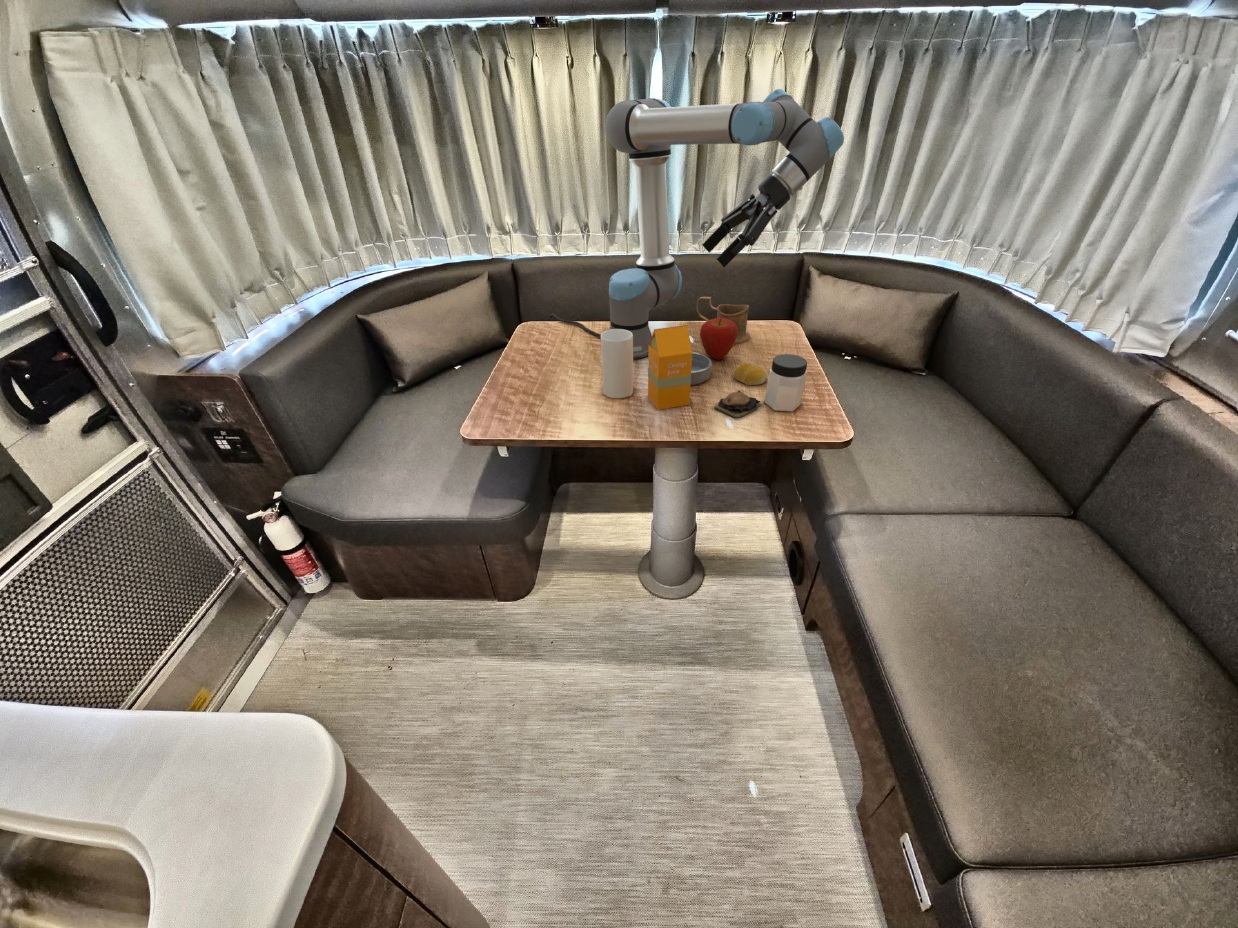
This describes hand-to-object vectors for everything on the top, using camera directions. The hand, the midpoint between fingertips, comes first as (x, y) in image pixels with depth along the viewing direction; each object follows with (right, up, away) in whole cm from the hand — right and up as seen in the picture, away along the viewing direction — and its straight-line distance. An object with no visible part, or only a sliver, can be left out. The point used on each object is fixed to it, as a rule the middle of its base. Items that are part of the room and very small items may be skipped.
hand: (712, 256), depth 131 cm
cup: (-23, -32, +13) cm, 42 cm away
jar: (+19, -36, +6) cm, 41 cm away
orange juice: (-10, -35, +9) cm, 37 cm away
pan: (-4, -26, +21) cm, 33 cm away
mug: (+10, -9, +43) cm, 46 cm away
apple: (+6, -19, +30) cm, 36 cm away
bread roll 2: (+7, -37, +5) cm, 38 cm away
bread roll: (+13, -28, +18) cm, 36 cm away
